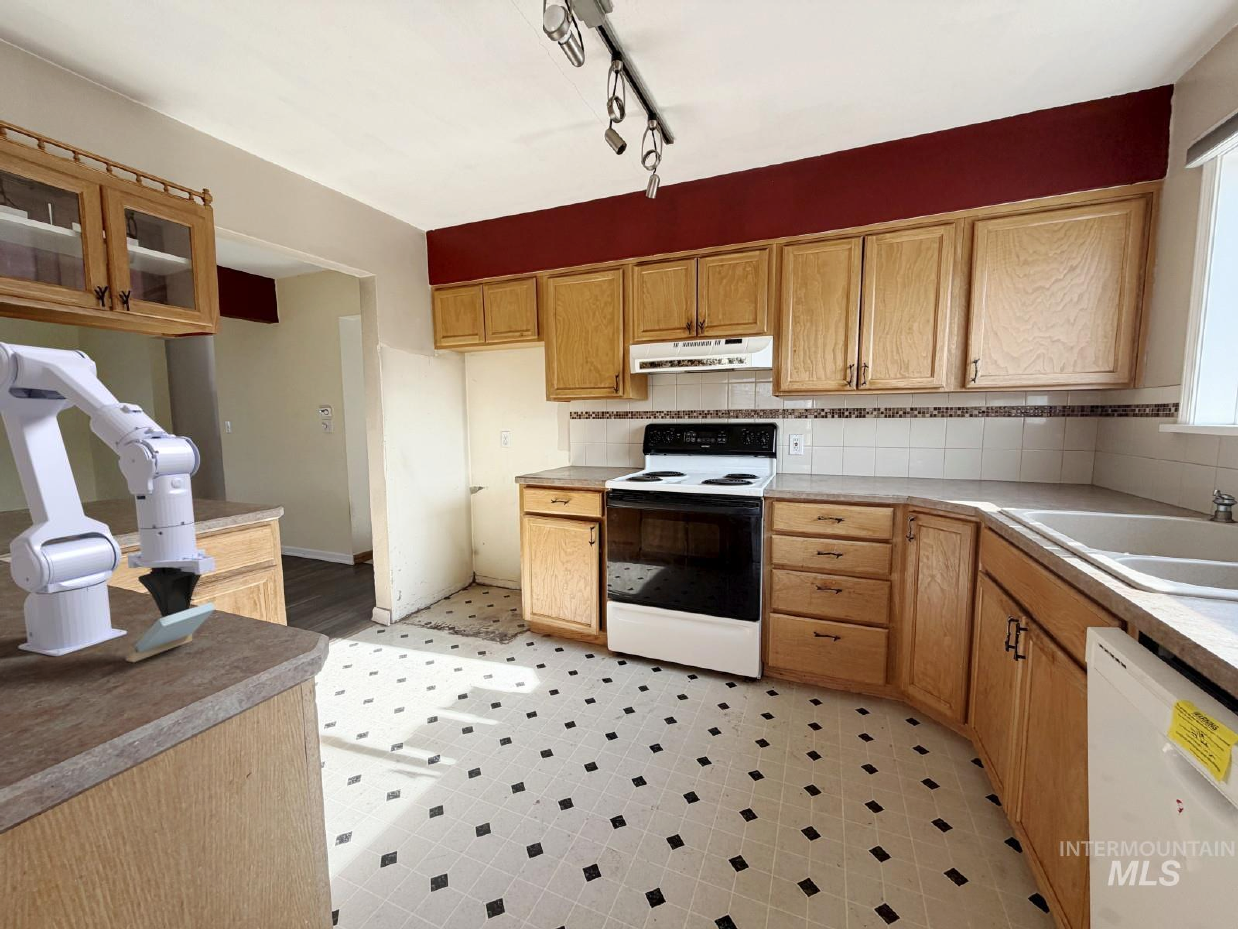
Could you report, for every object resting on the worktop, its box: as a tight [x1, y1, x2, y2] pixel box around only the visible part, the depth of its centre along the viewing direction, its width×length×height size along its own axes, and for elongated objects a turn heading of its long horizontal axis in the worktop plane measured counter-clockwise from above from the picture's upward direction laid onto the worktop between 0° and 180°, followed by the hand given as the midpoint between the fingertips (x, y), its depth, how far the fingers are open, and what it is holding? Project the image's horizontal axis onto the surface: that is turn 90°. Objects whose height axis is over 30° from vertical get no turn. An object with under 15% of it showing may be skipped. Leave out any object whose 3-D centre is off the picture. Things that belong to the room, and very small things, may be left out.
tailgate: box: [134, 601, 216, 653], centre depth 69 cm, size 1×6×7 cm
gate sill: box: [124, 633, 193, 663], centre depth 70 cm, size 2×7×1 cm, turn 163°
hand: (176, 620), depth 69 cm, fingers closed
